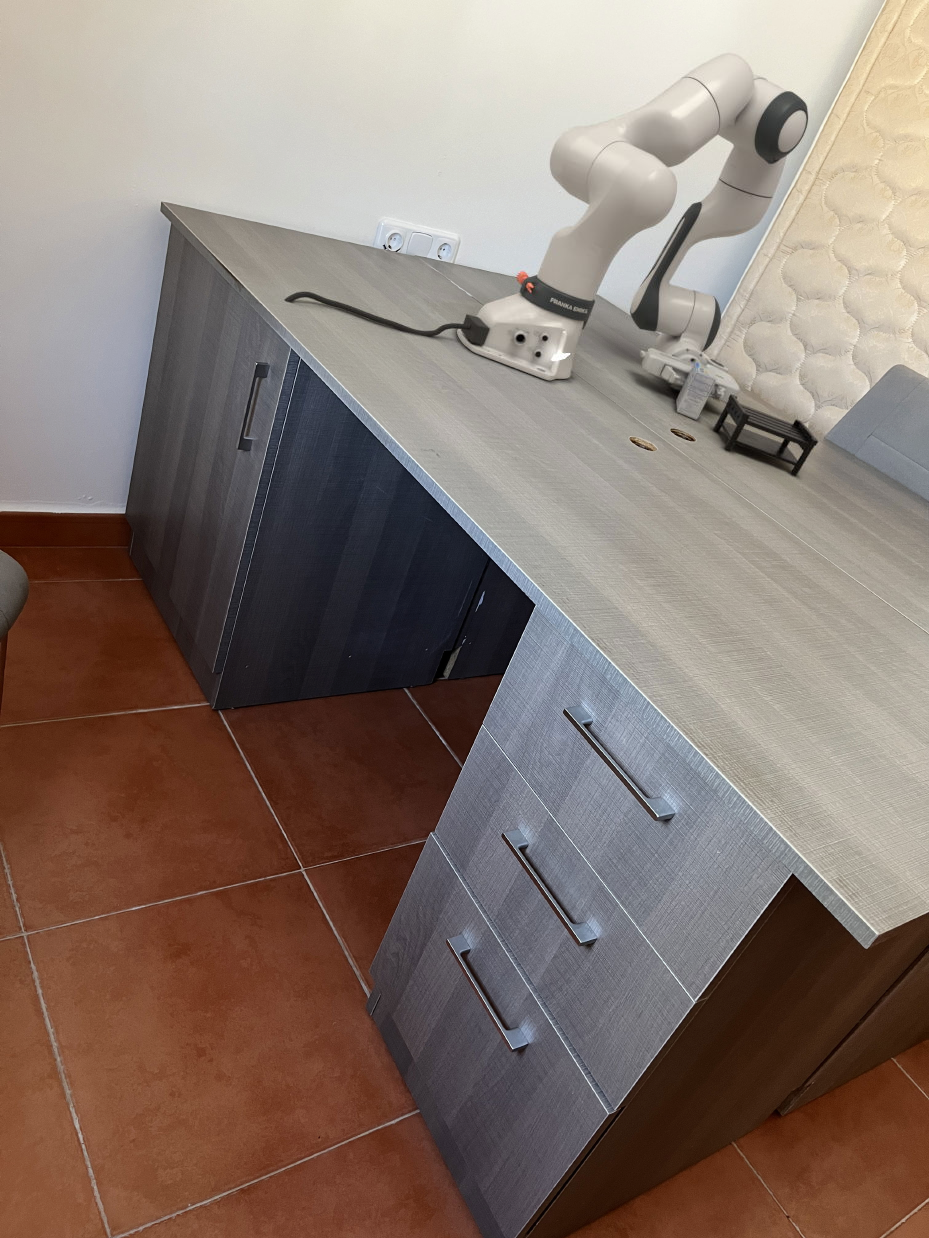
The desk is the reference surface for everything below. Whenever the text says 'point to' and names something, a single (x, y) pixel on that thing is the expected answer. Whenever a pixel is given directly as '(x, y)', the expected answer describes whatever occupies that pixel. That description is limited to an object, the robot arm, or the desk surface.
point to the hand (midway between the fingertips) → (697, 388)
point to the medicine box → (696, 391)
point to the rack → (768, 424)
